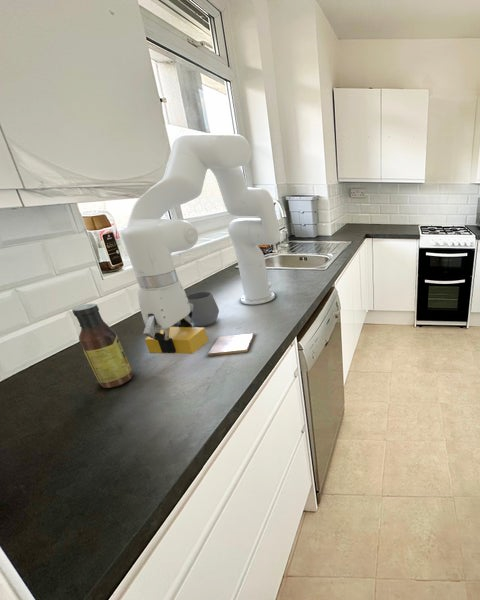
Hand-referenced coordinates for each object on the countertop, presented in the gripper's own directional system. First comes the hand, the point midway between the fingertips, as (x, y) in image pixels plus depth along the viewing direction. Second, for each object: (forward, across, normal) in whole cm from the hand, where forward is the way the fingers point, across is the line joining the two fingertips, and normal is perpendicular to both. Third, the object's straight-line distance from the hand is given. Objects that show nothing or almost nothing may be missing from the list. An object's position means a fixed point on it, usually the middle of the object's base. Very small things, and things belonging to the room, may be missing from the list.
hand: (179, 344), depth 80 cm
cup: (+7, -24, -10) cm, 27 cm away
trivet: (+6, -10, +7) cm, 14 cm away
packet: (+1, 0, 0) cm, 1 cm away
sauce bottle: (+6, +8, -12) cm, 16 cm away
